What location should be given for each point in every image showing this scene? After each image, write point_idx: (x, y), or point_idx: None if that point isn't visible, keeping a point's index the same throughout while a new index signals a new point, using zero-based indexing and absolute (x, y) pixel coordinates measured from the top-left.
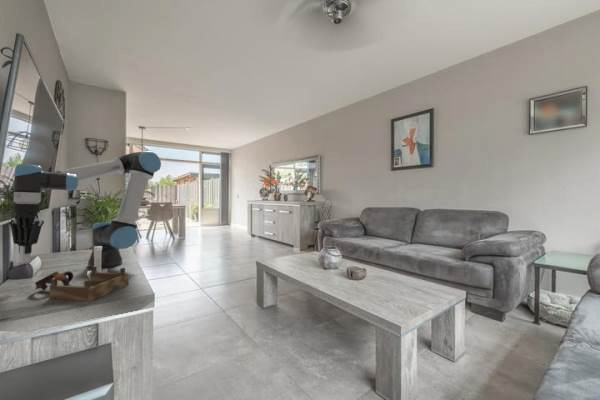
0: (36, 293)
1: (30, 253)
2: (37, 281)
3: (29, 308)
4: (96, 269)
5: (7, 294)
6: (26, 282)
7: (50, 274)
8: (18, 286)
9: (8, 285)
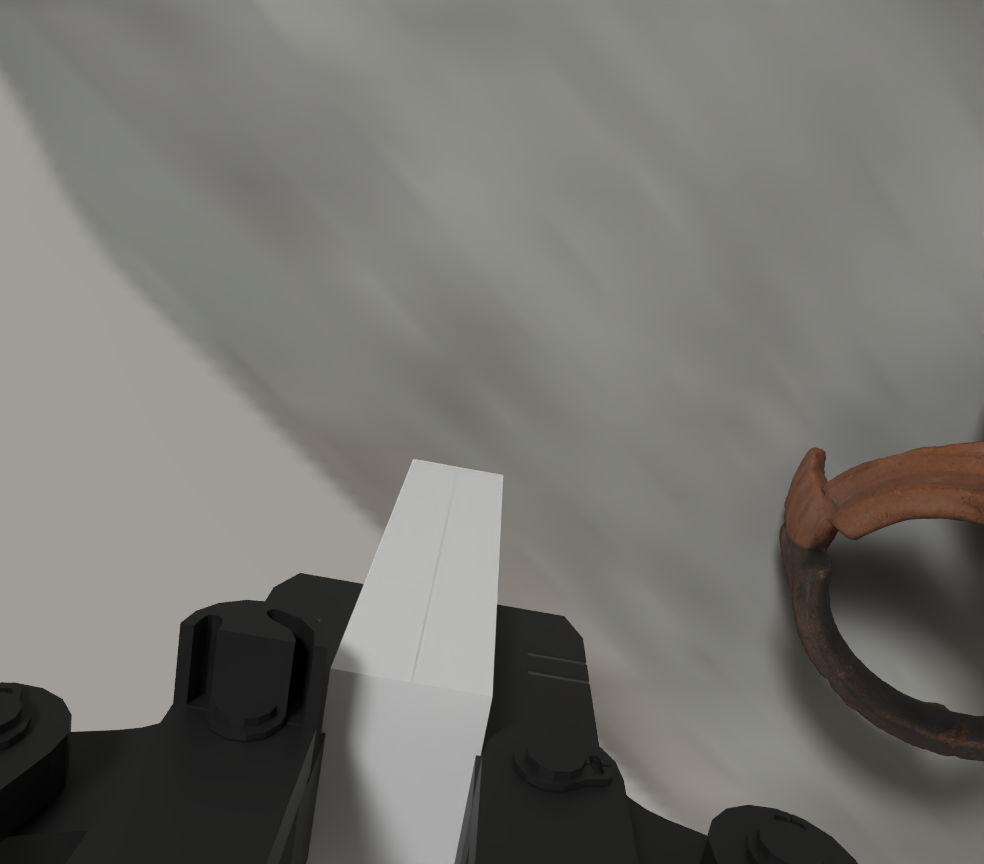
0: None
1: (496, 544)
2: (899, 727)
3: None
4: None
5: None
6: (285, 142)
7: (943, 516)
8: (346, 333)
9: (167, 282)
